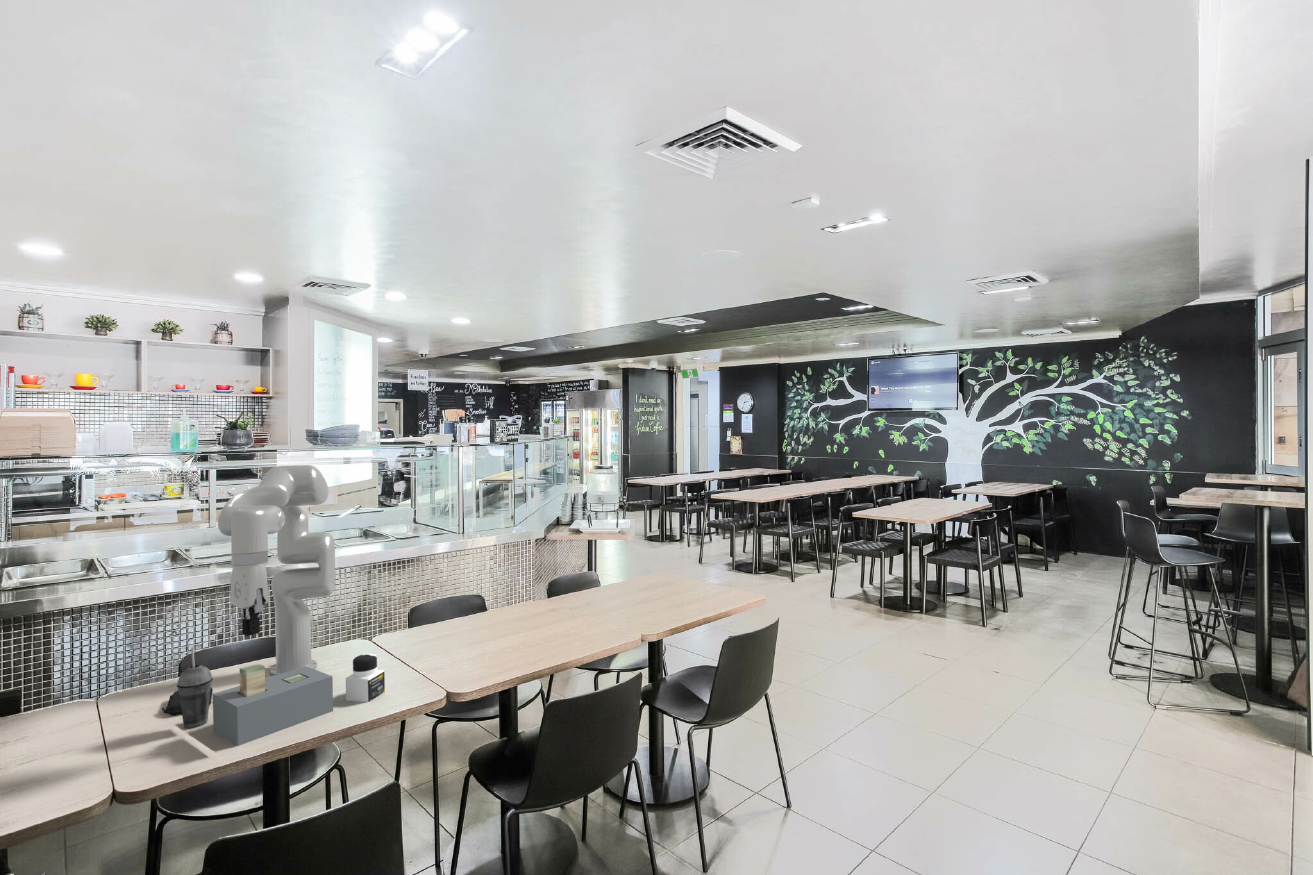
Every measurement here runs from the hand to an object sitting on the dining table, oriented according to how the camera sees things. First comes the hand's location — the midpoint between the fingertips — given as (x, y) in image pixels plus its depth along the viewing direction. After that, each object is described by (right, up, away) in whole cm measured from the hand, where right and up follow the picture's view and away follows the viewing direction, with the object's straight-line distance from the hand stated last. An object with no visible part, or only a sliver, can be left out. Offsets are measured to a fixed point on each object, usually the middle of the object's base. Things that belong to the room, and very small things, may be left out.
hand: (251, 633), depth 153 cm
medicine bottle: (+19, -24, +19) cm, 36 cm away
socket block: (+3, -24, +4) cm, 25 cm away
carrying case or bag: (-29, -26, +18) cm, 42 cm away
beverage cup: (-16, -25, +3) cm, 30 cm away
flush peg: (+6, -23, +8) cm, 25 cm away
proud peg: (0, -17, 0) cm, 17 cm away
